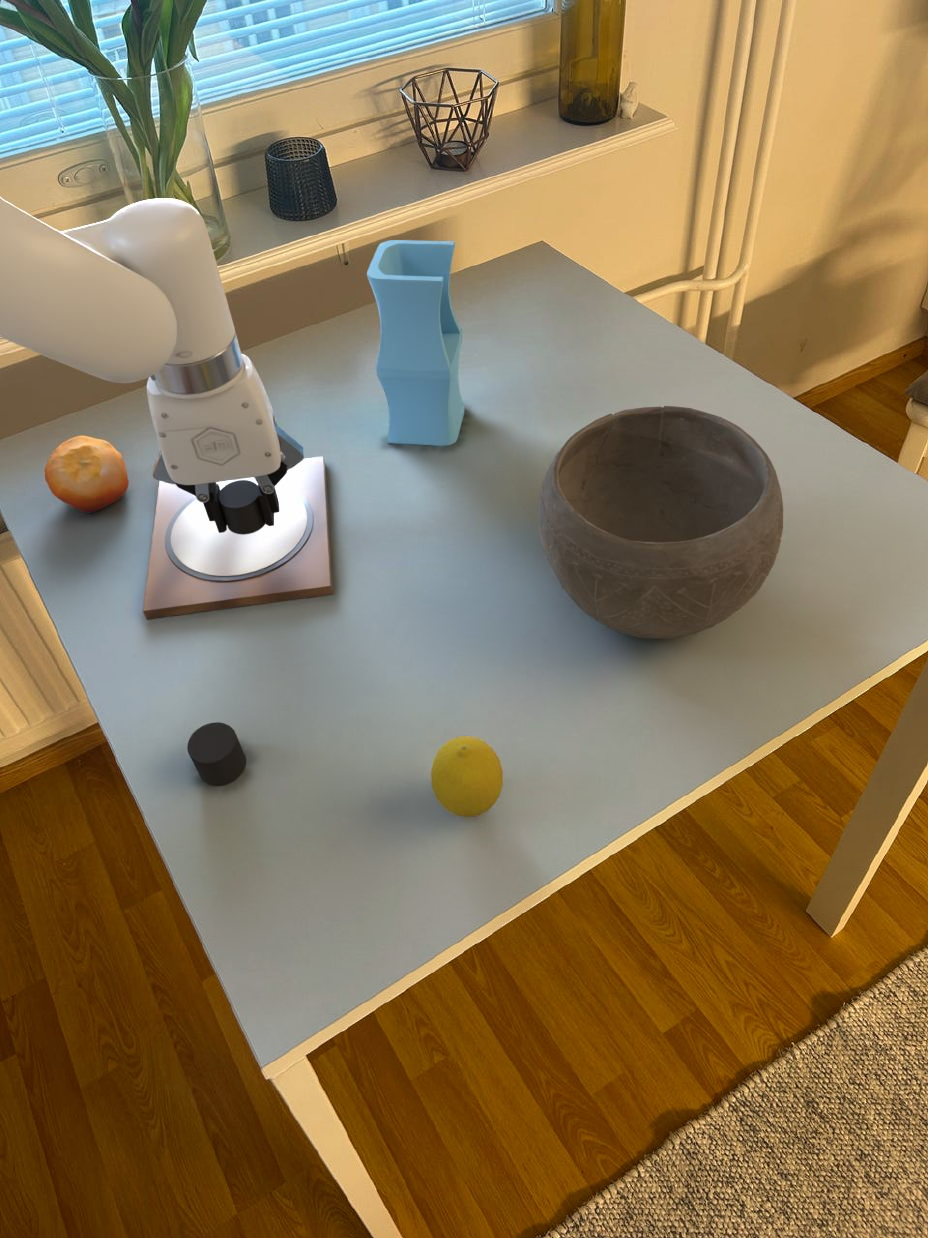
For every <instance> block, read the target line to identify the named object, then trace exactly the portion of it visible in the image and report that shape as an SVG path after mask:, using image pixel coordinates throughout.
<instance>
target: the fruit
mask: <svg viewBox="0 0 928 1238" xmlns="http://www.w3.org/2000/svg"><path fill="white" fill-rule="evenodd" d="M46 461H47V462H46V464H45V467H44V479H45V482H46V483H47V486H48V488H49V490H50V492H51V493H52V494H53V496H54V497H56V498H57V499H58V500H59V501H61V502H62V503H65V504H66V505H68V506H70V507H73V508H74V509H76V510H78V511H80V512H82V513H86V514H91V513H95V512H98V511H100V510H103V509H104V508H106V507H108V506H110V505H111V504H113V503H115V502H117V501H118V500H119V499H120V498H121V497H122V496H123V495H125V493H126V492H127V490H128V488H129V484H130V481H129V476H128V471H127V468H126V467H127V466H126V463H125V459H124V457H123V455H122V453H120V452H119V451H118V450H117V449H116V448H115V446H113V445H112V443H110V442H109V441H106V440H105V439H99V438H95V437H91V436H86V435H78V436H74V437H71V438H69V439H67V440H65V441H63V442H62V443H61V444H60V445H58V446H57V448H55V449H54V450H53V451H52V452H51V454H50V456H49V459H47V460H46Z"/></svg>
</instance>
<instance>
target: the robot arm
mask: <svg viewBox="0 0 928 1238" xmlns="http://www.w3.org/2000/svg"><path fill="white" fill-rule="evenodd" d="M216 260H217V259H216V256H215V253H214V249H213V245H212V242H211V238H210V234H209V231H208V228H207V225H206V223H205V220H204V218H203V216H202V215H201V213H200V212H199V211H198V210H197V209H196V208H195V207H194V206H193V205H191V204H190V203H187V202H185V201H183V200H180V199H176V198H165V197H164V198H150V199H145V200H141V201H138V202H135V203H132V204H130V205H127V206H124V207H123V208H121V209H120V210H118V211H117V212H115V213H114V214H113V215H112V216H111V217H110V218H108V219H105V220H102V221H98V222H96V223H91V224H88V225H83V226H80V227H75V228H71V229H67V230H62V231H59V230H58V229H56V228H54V227H52V226H50V225H48V223H47V224H46V223H45V222H43V221H41V220H40V219H38V218H36V217H35V216H33V215H30V213H27V212H26V211H24V210H23V209H21V208H19V207H17V206H15V205H14V204H12V203H10V202H8V201H7V200H5V199H4V198H3V197H0V338H2V339H4V340H6V341H9V342H11V343H13V344H15V345H17V346H20V347H22V348H24V349H26V350H29V351H31V352H33V353H36V354H38V355H41V356H43V357H45V358H47V359H50V360H53V361H55V362H58V363H60V364H63V365H66V366H68V367H70V368H73V369H74V370H78V371H80V372H82V373H84V374H87V375H90V376H92V377H95V378H98V379H100V380H103V381H105V382H106V381H107V382H110V383H117V384H118V383H119V384H129V383H136V382H141V381H143V380H146V379H148V380H147V382H146V395H147V402H148V407H149V413H150V417H151V420H152V421H151V422H152V425H153V429H154V433H155V436H156V441H157V444H158V447H159V452H158V455H157V457H156V459H155V462H154V465H153V469H152V478H153V479H154V480H156V481H158V482H159V481H163V482H166V483H169V484H172V485H173V484H176V486H177V487H178V488H180V489H182V490H184V491H186V492H188V493H190V494H193V495H195V496H196V499H197V500H198V501H199V502H201V503H203V504H204V507H205V510H206V513H207V516H208V518H209V521H215V523H216V526H217V529H218V532H219V533H223V532H225V531H227V524H226V521H225V518H224V515H223V512H222V509H221V506H220V503H219V500H218V496H219V492H220V488H219V485H218V484H216V482H221V481H228V480H236V479H243V478H250V477H254V478H255V480H256V481H257V483H258V499H259V503H260V506H261V509H262V513H263V516H264V519H265V523H266V525H268V526H274V513H277V512H280V507H279V500H278V497H277V493H276V490H275V486H276V485H277V484H278V482H279V481H280V480H281V479H282V478H283V477H284V476H285V474H286V473H287V470H289V469H290V468H293V467H294V466H296V465H297V464H298V463H300V462H301V461H302V460H303V459H304V458H305V448H304V447H303V445H301V444H300V443H299V442H298V441H297V440H295V439H294V438H293V437H292V436H290V434H288V433H287V432H286V431H285V430H283V429H282V427H280V426H279V425H278V422H277V418H276V415H275V413H274V410H273V407H272V404H271V402H270V399H269V396H268V393H267V391H266V389H265V386H264V383H263V381H262V378H261V377H260V375H259V372H258V371H257V369H256V367H255V365H254V363H253V362H252V360H251V359H250V357H249V356H248V355H247V354H244V353H243V354H242V351H241V347H240V343H239V340H238V337H237V333H236V329H235V325H234V321H233V317H232V314H231V310H230V307H229V302H228V299H227V296H226V292H225V289H224V288H225V287H224V285H223V282H222V277H221V274H220V270H219V267H218V263H217V261H216Z"/></svg>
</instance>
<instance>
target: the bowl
mask: <svg viewBox="0 0 928 1238" xmlns="http://www.w3.org/2000/svg"><path fill="white" fill-rule="evenodd" d="M542 481H543V482H542V484H541V488H540V493H539V500H538V501H539V502H538V529H539V532H538V533H539V538H540V542H541V546H542V549H543V552H544V554H545V556H546V558H547V561H548V563H549V565H550V567H551V569H552V571H553V572H554V575H555V577H556V578H557V580H558V583H559V585H560V586H561V588H562V590H563V591H564V592H565V593H566V594H567V595H568V596H569V597H570V599H571V600H572V601H573V602H574V603H575V604H576V605H577V607H578V608H579V609H580V610H582V611H583V612H584V613H585V614H586V615H588V616H590V617H591V618H592V619H594V620H595V621H596V622H598V623H600V624H602V625H604V626H606V627H607V628H610V629H611V630H613V631H617V632H619V633H622V634H625V635H629V636H632V637H637V638H640V639H652V640H653V639H656V640H657V639H674V638H675V639H676V638H681V637H685V636H689V635H694V634H696V633H697V634H698V633H700V632H702V631H705V630H707V629H710V628H713V627H715V626H717V625H719V624H720V623H722V622H724V621H725V620H727V619H728V618H729V617H731V616H733V615H734V614H736V613H737V612H738V611H739V610H740V609H742V608H743V607H744V606H746V604H747V603H748V602H749V601H751V599H752V598H754V596H755V595H757V593H758V592H759V591H760V590H761V587H762V586H763V584H764V583H765V581H766V579H767V577H768V576H769V575H770V572H771V571H772V569H773V568H774V565H775V563H776V560H777V557H778V554H779V550H780V547H781V542H782V540H781V539H782V535H783V529H784V504H783V495H782V489H781V484H780V482H779V479H778V475H777V471H776V469H775V467H774V465H773V462H772V460H771V458H770V457H769V455H768V454H767V453H766V451H765V450H764V449H763V447H762V446H761V445H760V444H758V441H756V440H755V439H754V438H753V436H751V435H750V434H749V433H747V432H746V431H745V430H744V429H742V428H741V427H740V426H738V425H737V424H736V423H733V422H731V421H730V420H728V419H726V418H723V417H722V416H719V415H715V414H712V413H709V412H705V411H702V410H699V409H695V408H691V407H686V406H685V407H684V406H674V405H664V406H663V407H662V406H649V407H648V406H645V407H644V406H643V407H636V408H629V409H624V410H621V411H620V410H619V411H617V412H615V413H608V414H605V415H603V416H601V417H600V418H597V419H595V420H593V421H592V422H590V423H589V424H587V425H585V426H584V427H582V428H581V429H579V430H578V431H577V432H575V433H573V434H572V435H571V436H570V437H569V438H568V439H567V440H566V442H565V443H564V444H563V446H562V447H561V448H559V451H558V452H557V453H556V455H554V458H553V460H552V462H551V464H550V465H549V467H548V469H547V471H546V473H545V476H544V478H543V480H542Z"/></svg>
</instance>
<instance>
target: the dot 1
mask: <svg viewBox="0 0 928 1238" xmlns="http://www.w3.org/2000/svg"><path fill="white" fill-rule="evenodd" d="M186 747H187V748H186V749H187V753H188V756H189V757H190V760H191V762H192V763H193V766H194V767H195V769H196V772H197V773H198V775H199V777H200V779H201V780H202V781H203V782H204V783H206V784H208V785H210V786H214V787H221V786H225V785H226V786H227V785H229V784H231V783H233V782H235V781H236V780H237V779H238V778H239V777H240V776H241V775H242V774H243V773H244V771H245V769H246V766H247V757H246V754H245V751H244V749H243V747H242V745H241V742H240V740H239V738H238V735H237V733H236V731H235V729H234V728H233V727H232V726H230V725H229V724H227V723H224V722H220V721H217V722H210V723H206V724H204V725H202V726H200V727H198V728H197V729H196V730H195V731H194V732H192V734H191V735H190V737H189V739H188V742H187V746H186Z"/></svg>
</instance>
